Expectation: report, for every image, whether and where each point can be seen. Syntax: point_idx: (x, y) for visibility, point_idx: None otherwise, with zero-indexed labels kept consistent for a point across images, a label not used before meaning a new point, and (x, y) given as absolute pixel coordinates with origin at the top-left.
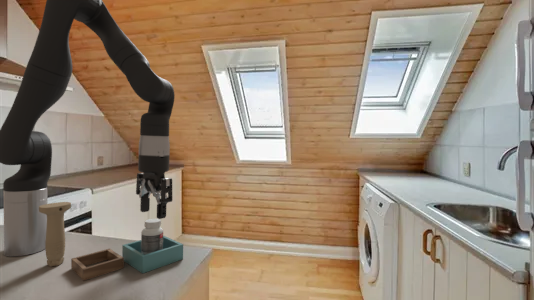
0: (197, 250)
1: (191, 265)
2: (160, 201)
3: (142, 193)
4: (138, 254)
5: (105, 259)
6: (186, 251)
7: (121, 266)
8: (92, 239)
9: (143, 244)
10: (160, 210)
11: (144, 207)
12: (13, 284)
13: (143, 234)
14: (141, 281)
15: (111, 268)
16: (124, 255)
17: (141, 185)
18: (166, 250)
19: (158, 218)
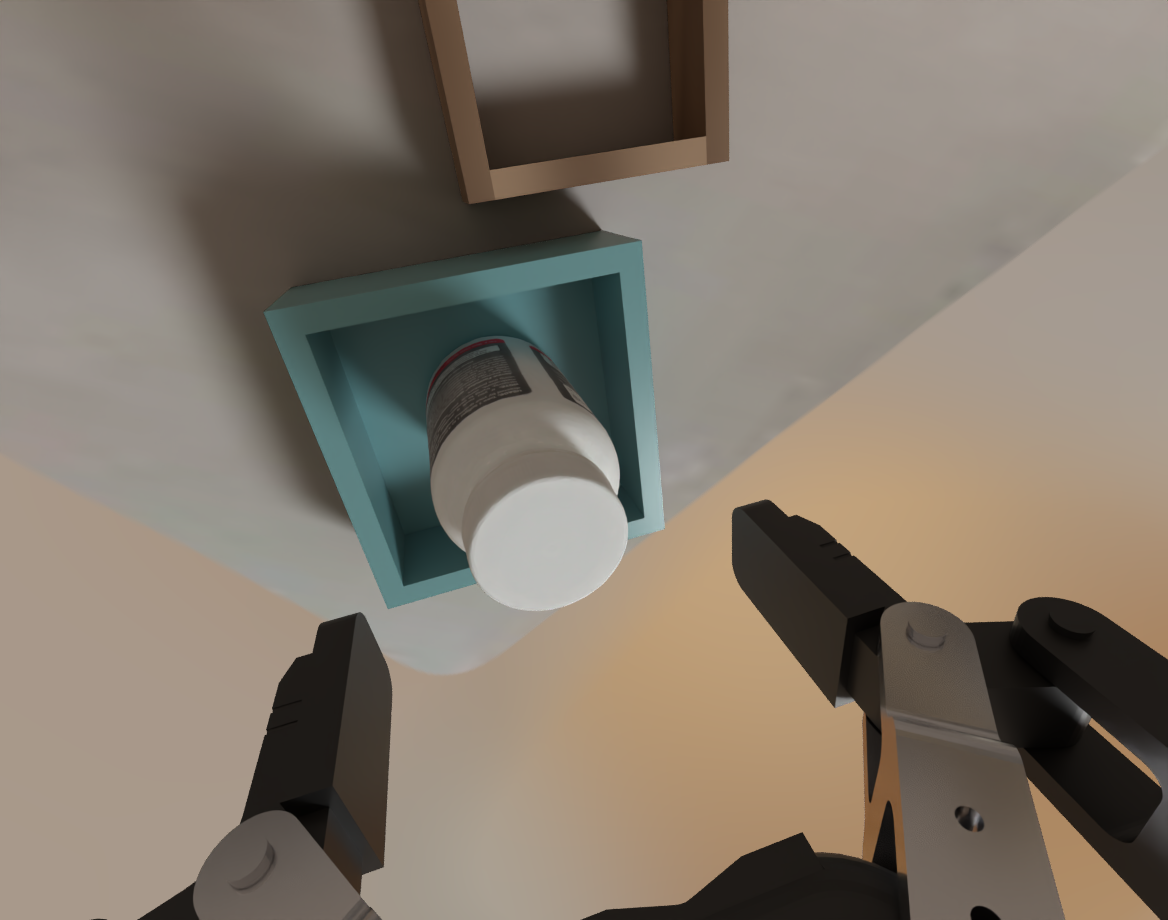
0: (472, 633)
1: (268, 564)
2: (197, 907)
3: (894, 706)
4: (345, 296)
5: (675, 125)
6: None
7: (460, 184)
8: (1071, 150)
9: (481, 374)
10: (288, 733)
11: (763, 562)
12: None
13: (496, 404)
14: (154, 244)
15: (442, 99)
16: (580, 240)
17: (1054, 892)
18: (341, 495)
19: (325, 623)
